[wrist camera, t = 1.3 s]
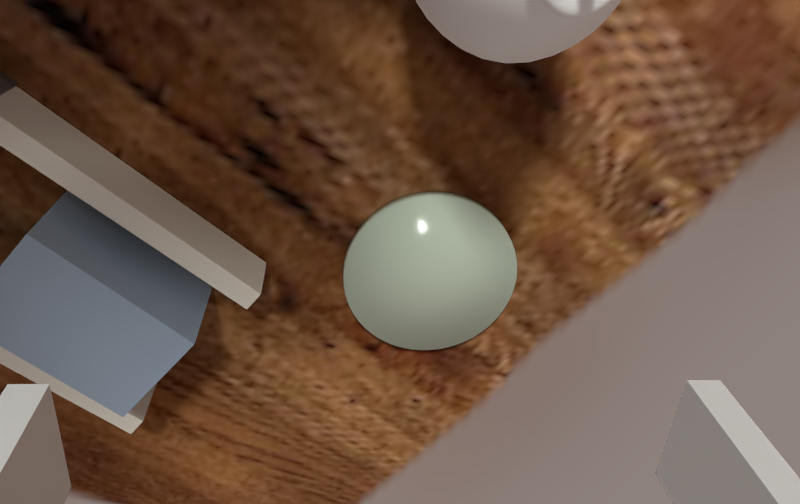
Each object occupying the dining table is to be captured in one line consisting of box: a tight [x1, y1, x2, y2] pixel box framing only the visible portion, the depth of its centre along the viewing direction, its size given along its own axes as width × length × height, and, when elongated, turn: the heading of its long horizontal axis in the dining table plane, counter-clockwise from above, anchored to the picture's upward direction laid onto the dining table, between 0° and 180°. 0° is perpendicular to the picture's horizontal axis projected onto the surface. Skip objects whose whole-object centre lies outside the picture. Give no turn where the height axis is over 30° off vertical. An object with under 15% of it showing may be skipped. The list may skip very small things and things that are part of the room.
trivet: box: [343, 191, 517, 350], centre depth 39 cm, size 10×10×1 cm
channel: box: [0, 86, 266, 434], centre depth 35 cm, size 15×12×4 cm
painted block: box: [0, 190, 212, 417], centre depth 35 cm, size 9×6×6 cm, turn 45°
